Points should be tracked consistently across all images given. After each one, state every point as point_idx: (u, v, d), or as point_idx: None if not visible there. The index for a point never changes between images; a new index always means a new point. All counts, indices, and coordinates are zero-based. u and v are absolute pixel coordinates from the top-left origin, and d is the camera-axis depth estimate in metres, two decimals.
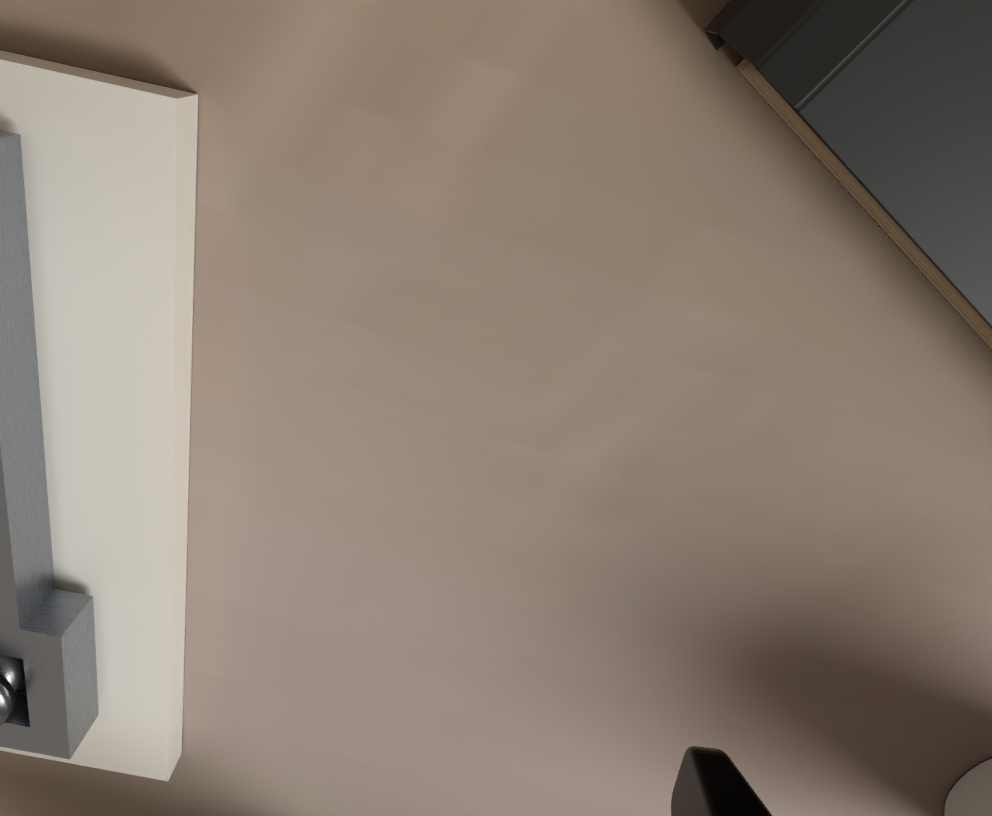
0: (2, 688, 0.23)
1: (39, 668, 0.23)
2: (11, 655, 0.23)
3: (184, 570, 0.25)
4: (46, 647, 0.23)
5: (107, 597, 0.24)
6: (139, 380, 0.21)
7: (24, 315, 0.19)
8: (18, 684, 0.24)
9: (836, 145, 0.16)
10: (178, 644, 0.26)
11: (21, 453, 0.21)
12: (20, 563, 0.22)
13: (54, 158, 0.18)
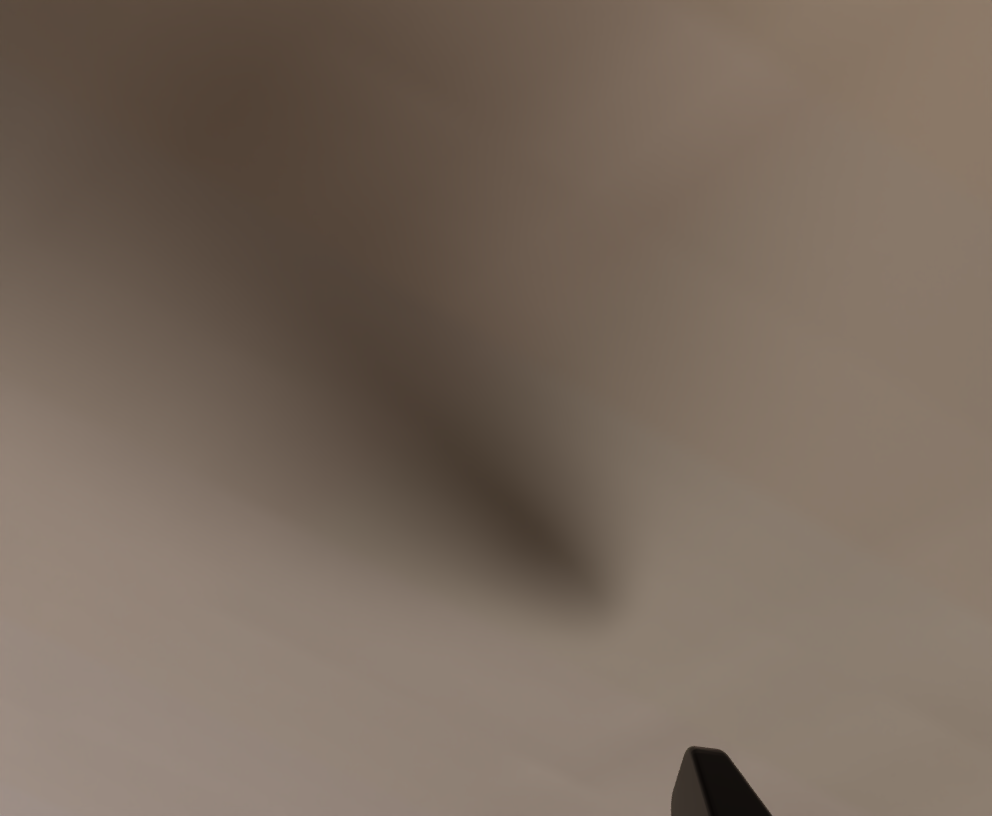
0: None
1: None
2: None
3: None
4: None
5: None
6: None
7: None
8: None
9: None
10: None
11: None
12: None
13: None
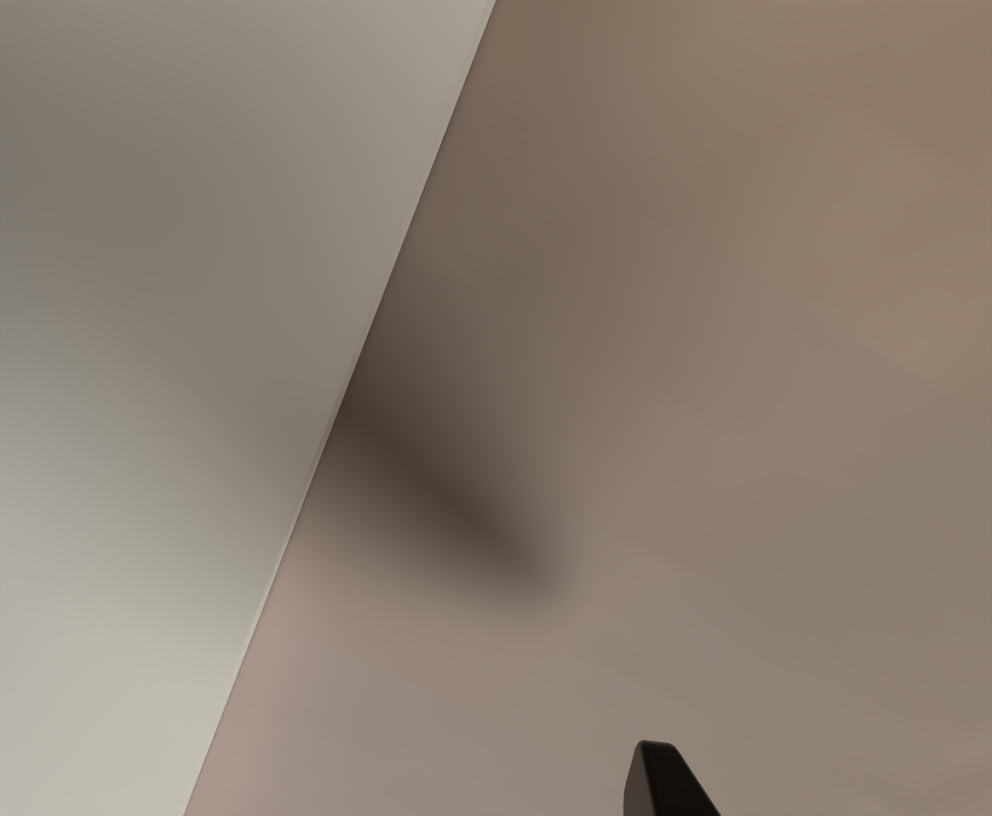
0: None
1: None
2: None
3: None
4: None
5: None
6: (171, 611, 0.09)
7: None
8: None
9: None
10: None
11: None
12: None
13: (87, 74, 0.07)
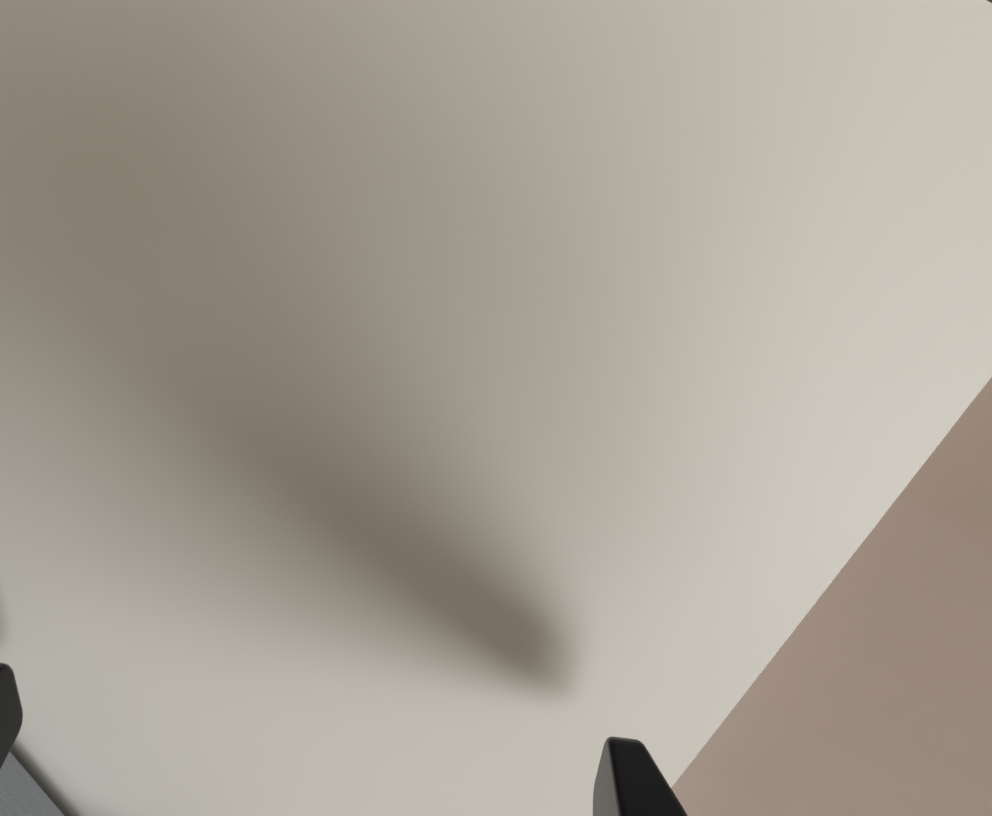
0: None
1: None
2: None
3: None
4: None
5: None
6: (680, 671, 0.10)
7: None
8: None
9: None
10: None
11: None
12: None
13: (785, 188, 0.07)
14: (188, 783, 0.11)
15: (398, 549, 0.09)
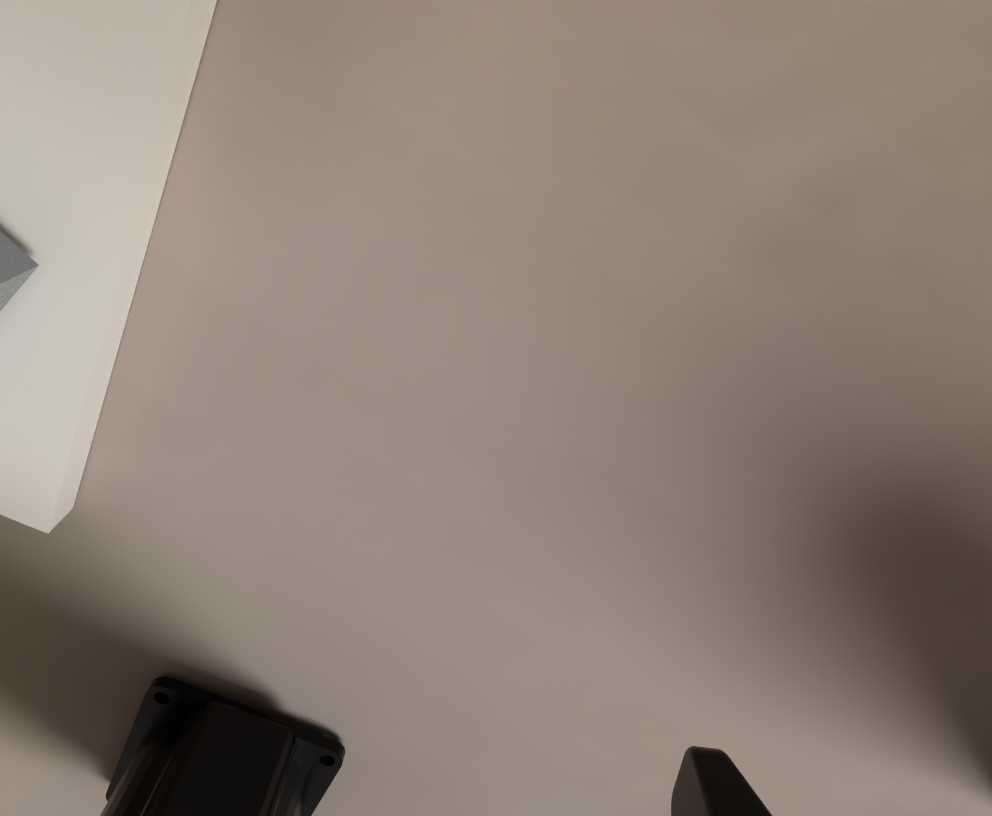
0: None
1: None
2: None
3: (154, 211, 0.17)
4: None
5: (31, 211, 0.16)
6: None
7: None
8: None
9: None
10: (115, 327, 0.18)
11: None
12: None
13: None
14: None
15: None
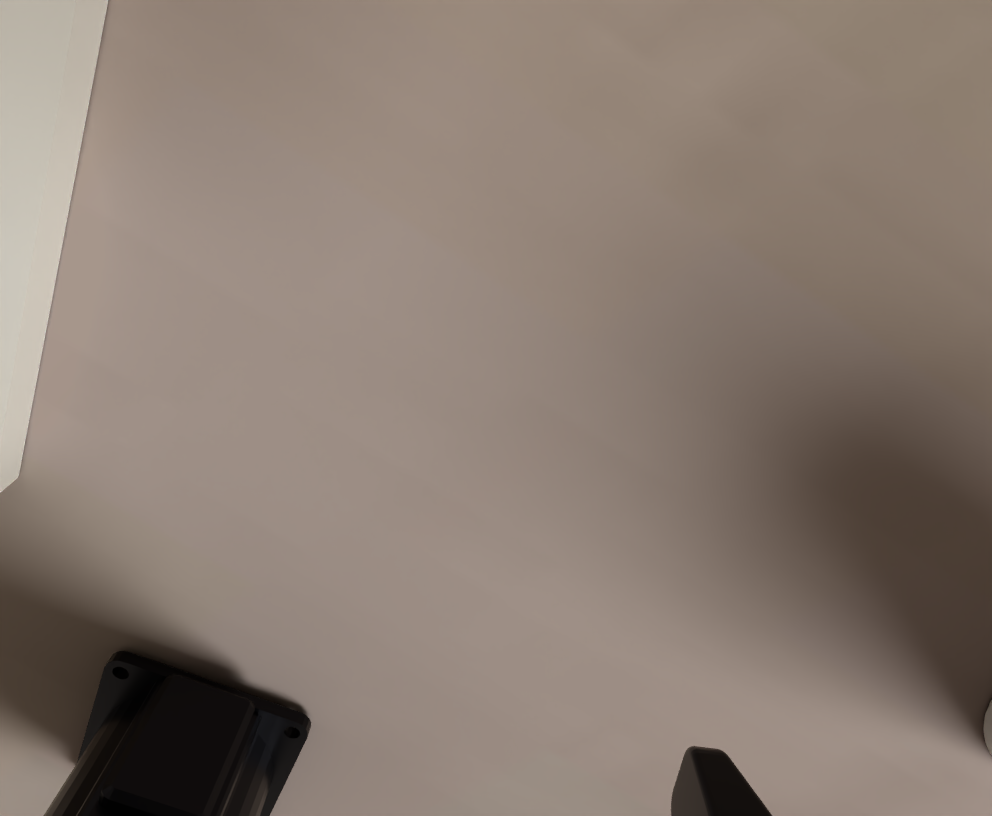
0: None
1: None
2: None
3: (75, 160, 0.17)
4: None
5: None
6: None
7: None
8: None
9: None
10: (44, 283, 0.18)
11: None
12: None
13: None
14: None
15: None
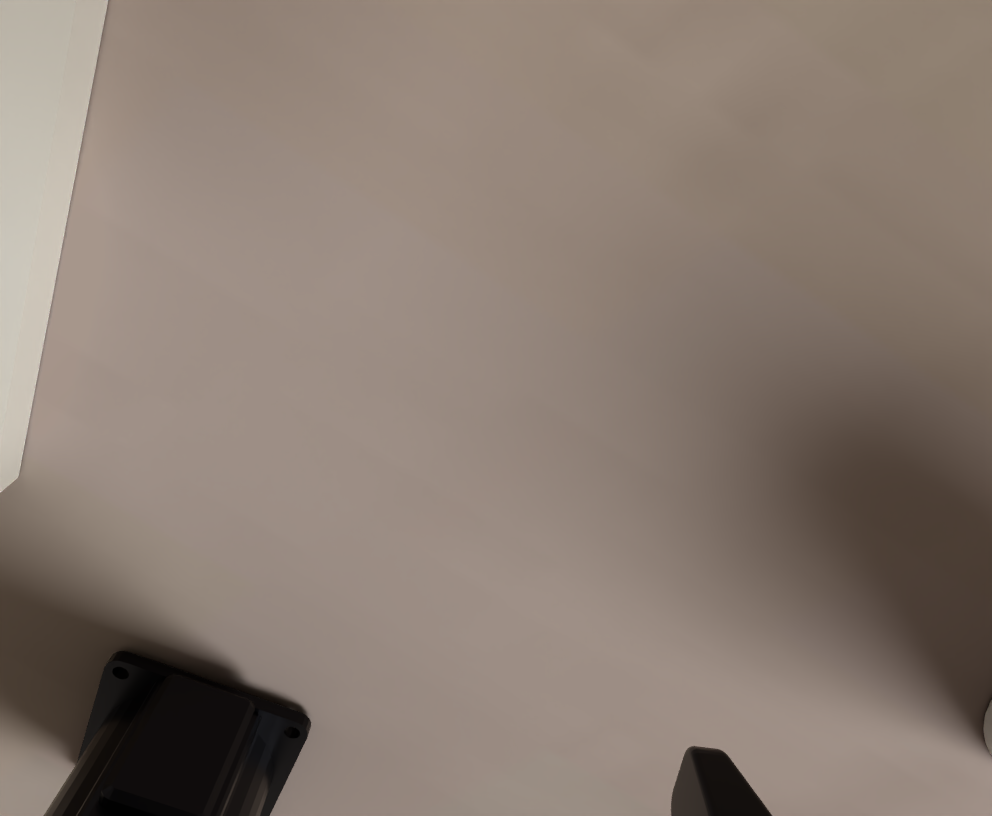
0: None
1: None
2: None
3: (75, 160, 0.17)
4: None
5: None
6: None
7: None
8: None
9: None
10: (44, 283, 0.18)
11: None
12: None
13: None
14: None
15: None
